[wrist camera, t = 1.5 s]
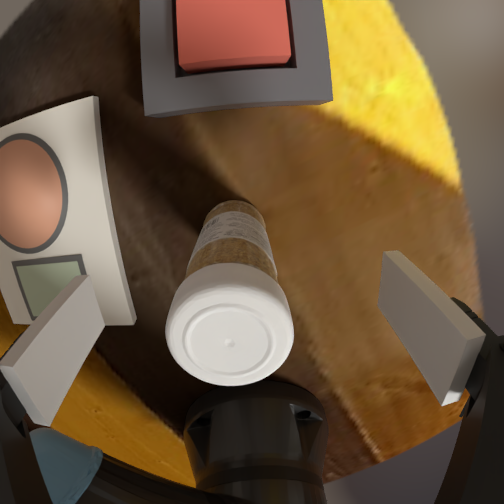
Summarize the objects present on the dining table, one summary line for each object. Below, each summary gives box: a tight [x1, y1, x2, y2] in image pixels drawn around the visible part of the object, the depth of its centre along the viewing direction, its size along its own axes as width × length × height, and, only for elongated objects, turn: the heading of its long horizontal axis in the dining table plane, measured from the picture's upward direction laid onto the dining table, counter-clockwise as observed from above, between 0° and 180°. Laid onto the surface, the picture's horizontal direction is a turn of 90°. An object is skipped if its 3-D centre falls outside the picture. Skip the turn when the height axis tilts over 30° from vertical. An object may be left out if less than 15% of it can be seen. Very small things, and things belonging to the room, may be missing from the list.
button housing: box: [140, 0, 333, 118], centre depth 17 cm, size 11×11×4 cm
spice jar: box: [165, 200, 294, 386], centre depth 17 cm, size 5×5×14 cm
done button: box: [176, 0, 291, 74], centre depth 15 cm, size 6×6×3 cm
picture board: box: [0, 96, 137, 325], centre depth 22 cm, size 18×14×1 cm
